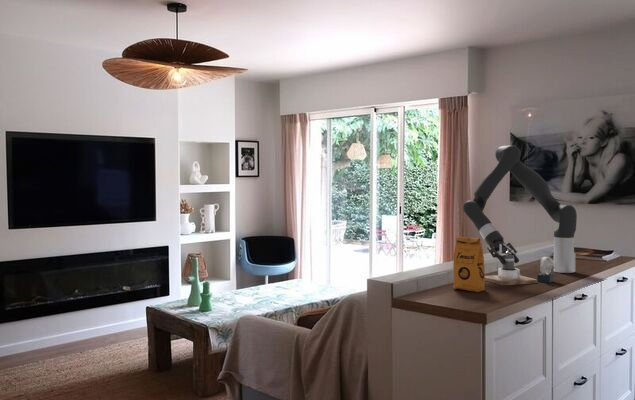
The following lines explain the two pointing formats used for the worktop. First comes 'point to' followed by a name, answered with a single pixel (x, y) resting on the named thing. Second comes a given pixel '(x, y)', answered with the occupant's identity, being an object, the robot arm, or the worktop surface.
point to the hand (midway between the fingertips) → (511, 262)
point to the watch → (546, 270)
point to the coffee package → (469, 264)
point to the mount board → (510, 282)
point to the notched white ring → (509, 274)
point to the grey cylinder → (508, 262)
